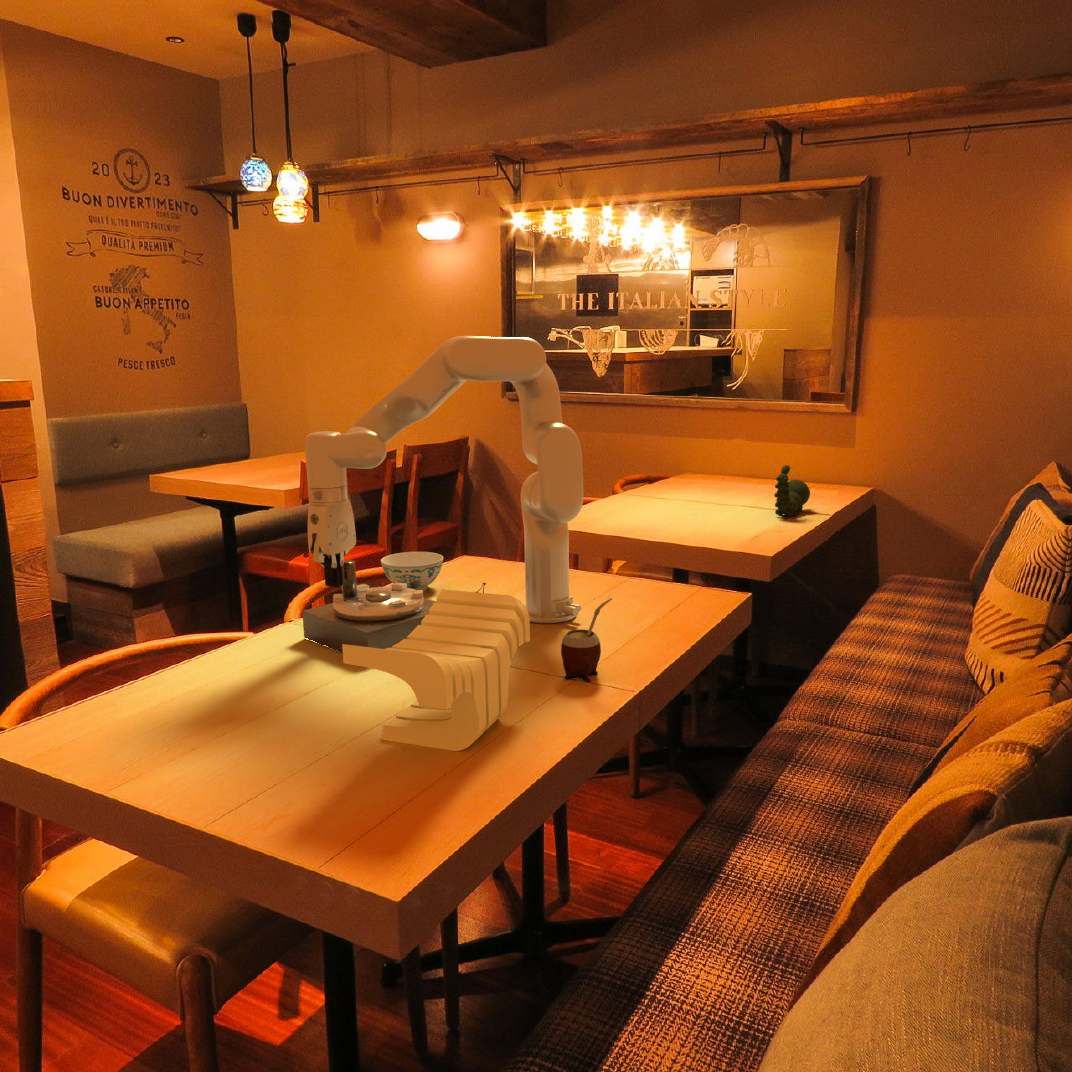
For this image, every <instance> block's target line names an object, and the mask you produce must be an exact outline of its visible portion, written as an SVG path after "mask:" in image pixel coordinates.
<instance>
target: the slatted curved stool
mask: <svg viewBox="0 0 1072 1072" xmlns="http://www.w3.org/2000/svg"><path fill="white" fill-rule="evenodd" d="M436 602H437V603H433V605H432V607H431V608H430V610H429V615H427V614H426V616H425V617H424V618H423V620H422V621H421V625H418V626H417V627H416V628H415V629H414V630H413V631H412V632H411V633H410V634H409V635H408V636H407V639H403V640H402V641H401V642H399V643H397V644H396V645H394V646H392V648H386V649H379V648H371V647H362V646H354V645H346V644H342V648H343V653H342V661H343V662H342V663H343V664H345V665H346V664H347V665H354V666H358V667H364V668H369V669H373V670H377V671H380V672H381V671H382V672H384V673H386V674H390V675H393V676H395V677H397V678H399V679H400V680H403V682H405V683H406V684H407V685H408V686H409V687H410V688H411V690H412V691H413V693H414V696H415V698H416V700H415V701H413V702H412V703H411V704H410V706H407V707H405V708H404V709H402V710H401V711H400V712H399V713H397V714H396V715H395V717H392V718H391V719H389V720H388V721H387V722H385V723H384V724H383V726H382V727H383V728H382V733H381V737H380V740H382V741H383V740H384V741H391V742H397V743H402V744H408V745H415V746H421V747H429V748H434V749H438V750H439V749H440V750H446V751H453V752H460V751H463V750H465V749H467V748H469V747H470V746H471V745H473V743H475V741H477V740H478V739H480V737H481V736H482V735H483V734H484V733H485V732H486V731H487V730H488V729H489V728H490V727H492V726H493V724H494V723H495V722H497V720H499V718H500V717H502V716H503V715H504V714H505V713H506V711H507V708H508V705H509V684H510V674H511V660H513V658H514V656H515V654H516V652H517V650H518V648H519V647H521V646H522V645H523V644H524V643H527V642H530V641H531V633H530V631H531V627H530V623H531V622H530V619H529V613H528V610H527V608H526V607H525V606H526V604H524V602H522V600H521V599H519V598H517V597H515V596H513V595H509V594H498V593H487V592H486V593H485V592H484V593H483V592H479V593H477V591H463V590H454V589H453V590H452V589H441V590H440V591H439V593H438V595H437V596H436Z"/></svg>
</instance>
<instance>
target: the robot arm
mask: <svg viewBox="0 0 1072 1072" xmlns="http://www.w3.org/2000/svg"><path fill="white" fill-rule="evenodd" d="M466 381H475V382H510V384H512V387H514V389H515V391H516V393H517V396H518V401H519V408H520V409H519V410H520V424H521V425H520V426H521V444H522V445H521V446H522V448H521V449H522V451H523V454H524V456H525V457H526V459H527V460H528V461H529V462H531V463H533V464H535V465H536V466H537V471H535V472H533V473H531V474H530V475H528V476H527V478H526V479H525V480H524V482H523V484H522V486H521V490H520V506H521V512H522V513H521V514H522V521H523V530H524V531H523V535H524V537H523V538H524V571H525V572H524V577H525V578H524V579H525V581H524V582H525V584H524V585H525V607H526V608H527V610H528V613H529V619H530V623H535V624H536V623H537V624H557V623H562V622H567V621H570V620H573V619H574V618H575V617H577V616H578V615H579V612H581V611H582V606H581V605H580V604H575V603H574V596H572V595H570V557H569V556H570V555H569V554H570V549H569V547H570V537H569V536H570V535H569V534H570V533H569V525H568V523H569V522H571V521H573V520H574V519H575V518H577V516H578V515H579V514H580V513H581V510H582V507H583V503H584V494H585V493H584V469H583V467H584V466H583V451H582V444H581V442H580V439H579V437H578V434H577V433H576V432H575V430H573V428H571V426H568V425H566V424H564V423H563V413H562V404H561V403H562V402H561V395H560V388H559V384H558V381H557V378H556V376H555V374H554V373H553V370H552V369H551V367H550V366H549V365H548V363H547V354H546V352H545V349H544V348H543V346H542V345H541V343H539V342H538V341H537V340H535V339H533V338H531V337H525V336H523V337H522V336H521V337H512V336H511V337H505V336H504V337H503V336H502V337H501V336H498V337H495V336H494V337H493V336H492V337H491V336H475V335H459V336H458V335H457V336H454V337H453V336H452V337H450V338H449V339H447V340H445V341H444V342H442V343H441V345H440V346H438V347H437V348H436V349H435V350H434V351H433V352H432V353H431V354H429V356H427V358H426V359H424V361H423V362H421V364H420V365H419V366H417V367H416V369H414V370H413V371H412V372H411V373H410V374H409V375H408V376H406V378H404V380H402V381H401V382H400V383H399V384H398V385H397V386H396V387H394V388H393V389H392V390H390V391H389V393H388V394H386V395H384V397H383V398H382V399H380V400H379V401H378V402H376V404H374V405H373V406H372V407H371V408H370V409H369V410H368V411H367V412H365V414H363V415H362V416H361V417H360V418H359V419H358V420H357V421H356V422H355V423H354V424H353V425H352V426H350V428H349V429H347V431H346V432H345V433H341V432H339V431H333V430H332V431H331V430H327V431H325V430H324V431H314V432H310V433H308V434H307V435H306V436H305V437H304V438H305V439H304V452H305V465H306V478H307V493H308V511H307V543H308V549H309V552H310V554H312V556H313V557H312V561H313V562H314V563H320V564H321V567H322V568H323V570H324V571H323V572H324V573H323V574H324V583H325V585H324V586H325V587H328V588H329V587H330V588H339V587H342V585H343V572H342V565H343V564H344V561H345V556H346V555H347V554H348V553H349V552H350V551H351V550H352V549H354V547H355V546H356V544H357V536H356V535H357V534H356V525H355V517H354V512H353V509H352V508H353V507H352V504H351V500H350V499H349V494H348V493H349V492H348V478H347V477H348V475H347V469H358V470H359V469H360V470H361V469H362V470H364V469H365V470H368V469H369V470H370V469H374V468H376V467H378V466H379V465H381V464H382V463H383V461H384V460H385V459H386V457H387V454H388V453H387V451H388V450H387V444H388V443H389V442H390V441H391V440H393V438H395V436H397V435H398V434H399V433H401V432H402V431H403V430H404V429H407V427H409V426H411V425H413V424H415V423H417V422H420V421H423V420H425V419H426V418H428V417H430V416H431V415H432V414H433V413H434V412H436V411H437V410H438V408H439V407H441V406H442V404H443V403H445V402H446V401H447V400H448V398H450V397H451V396H452V395H453V394H454V393H456V391H457V390H458V389H460V387H462V386H463V384H465V382H466Z"/></svg>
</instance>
